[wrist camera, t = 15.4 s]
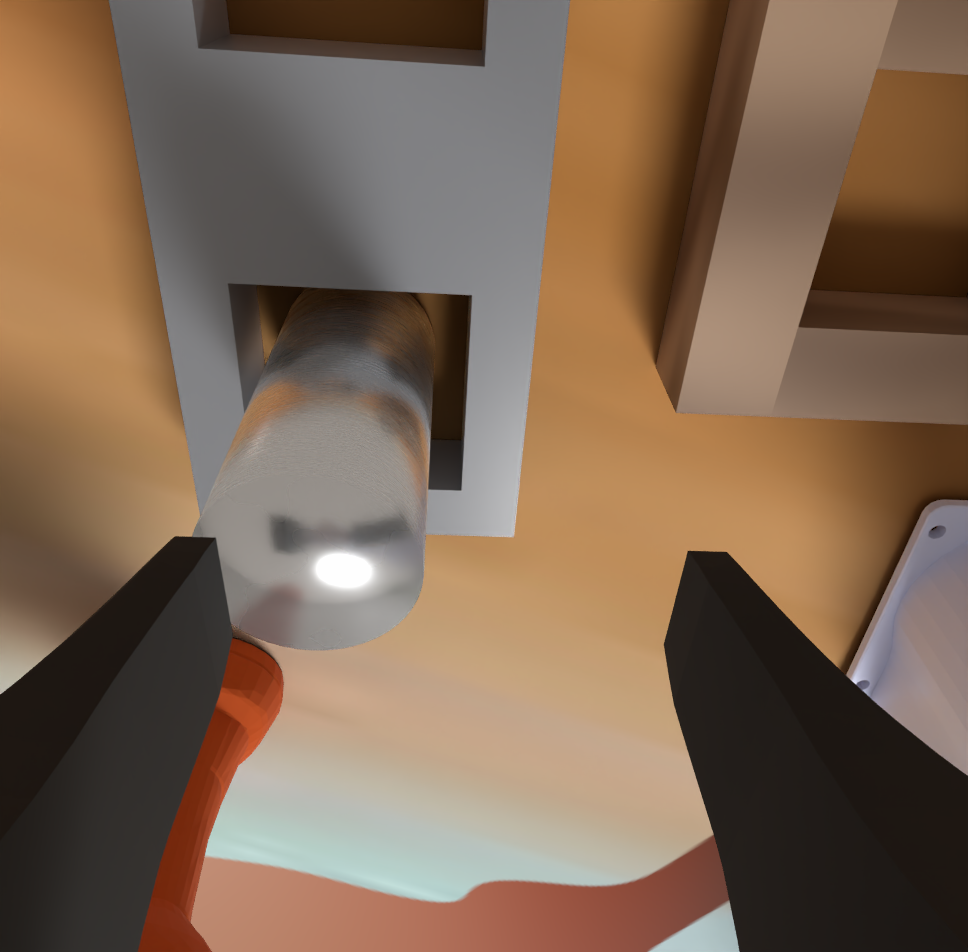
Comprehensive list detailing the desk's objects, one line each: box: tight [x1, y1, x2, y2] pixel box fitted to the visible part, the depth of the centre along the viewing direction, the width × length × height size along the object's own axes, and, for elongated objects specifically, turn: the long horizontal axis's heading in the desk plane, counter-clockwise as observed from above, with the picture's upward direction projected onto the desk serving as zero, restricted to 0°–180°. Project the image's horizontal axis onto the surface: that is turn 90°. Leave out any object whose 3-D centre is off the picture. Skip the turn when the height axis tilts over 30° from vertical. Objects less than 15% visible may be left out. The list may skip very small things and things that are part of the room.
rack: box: [109, 0, 570, 537], centre depth 17 cm, size 18×8×2 cm, turn 177°
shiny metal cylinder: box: [192, 287, 435, 650], centre depth 17 cm, size 4×4×9 cm
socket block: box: [656, 0, 968, 425], centre depth 18 cm, size 10×10×2 cm
